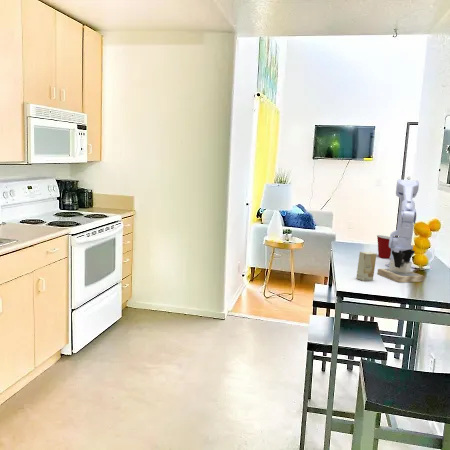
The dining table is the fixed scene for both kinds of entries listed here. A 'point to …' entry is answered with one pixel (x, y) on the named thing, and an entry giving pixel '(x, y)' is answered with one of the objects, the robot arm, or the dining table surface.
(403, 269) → the housing
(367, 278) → the skincare box
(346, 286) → the dining table surface
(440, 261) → the dining table surface
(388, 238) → the plastic cup
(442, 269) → the dining table surface
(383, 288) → the dining table surface
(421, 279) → the stand
